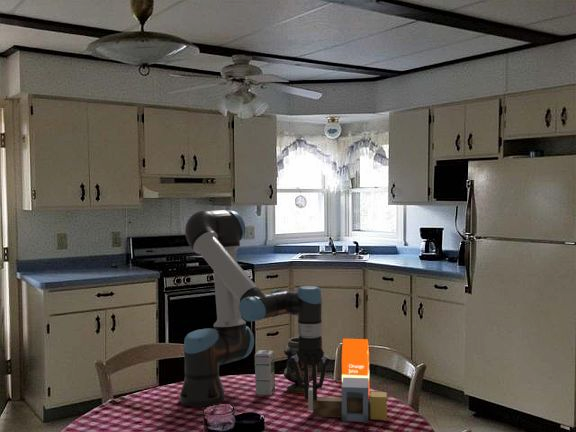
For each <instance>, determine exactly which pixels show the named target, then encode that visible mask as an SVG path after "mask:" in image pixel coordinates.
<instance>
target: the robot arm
mask: <svg viewBox="0 0 576 432" xmlns="http://www.w3.org/2000/svg"><path fill="white" fill-rule="evenodd" d="M184 235H185V238H186V241H187V243H188V246H189V247H190V248H191V249H192V250H193V252H194V253H195V254H198V255H201V256H202V258H203V259H204V260H205V262H206V263H207V264H208V265H209V266H210V267H211V269H212V270H213V278H214V280H213V281H214V292H215V293H214V294H215V305H216V307H215V308H216V321H215V322H214V323H213V328H211V327H210V328H208V327H207V328H202V329H196V330H193V331H191V332H189V333H187V334H186V336H185V337H184V341H183V342H184V343H183V351H184V353H183V355H184V379H183V384H182V387H181V391H180V393H179V402H180V403H181V405H184V406H187V407H193V408H201V407H202V408H205V407H210V405H212V406H214V405H213V404H216V405H218V404H221V403H222V402H224V401H225V395H226V393H225V390H224V387H223V384H222V381H221V378H220V366H222V365H225V364H226V365H227V364H229V363H232V362H238V361H241V360H242V359H245V358H247V357H248V356H249V355H250V354H251V353H252V352H253V350H254V346H255V337H254V333H253V331H251V328H250V327H249V326H247V322H257V321H261V320H264V319H268V318H275V317H278V316H279V317H280V316H282V315H293V316H297V322H298V323H297V324H298V325H297V329H298V330H297V334H298V336H297V337H298V352H297V354H296V355H295V356H292V357H291V359H290V361H291V362H292V364H293V365H294V369H295V373H296V377H297V381H298V384H299V387H300V388H304V389H305V393H304V399H305V400H307V404H308V405H307V407H308V411H310V412H311V411H312V412H313V399H314V400H316V399H317V397H318V389H322V388H323V385H324V381H325V377H326V371H327V367H328V365H329V364H330V362H331V356H327V355H326V354H325V351H324V350H323V337H322V336H321V335H322V333H323V321H322V309H323V307H322V304H323V303H322V302H323V300H322V290H321V288H320V287H319V286H315V285H312V286H311V285H304V286H302V285H301V286H299V287H298V288H297V291H295V290H286V289H273V290H271V292H269V293H264V292H262V290H261V289H260V288H259V287H258V286H257V285H256V283H255V282H254V281H253V280H252V278H251V277H250V276H249V275H248V274H247V273H246V271H245V270H244V269H243V268H242V267H241V266H240V264H239V263H238V259H237V258H238V257H237V252H238V249H239V248H240V247H241V240H243V238H244V236H245V235H246V224H245V221H244V219H243V217H242V215H240V214H239V212H237V211H236V210H232V209H231V210H230V209H229V210H228V209H221V210H220V209H218V210H201V211H197V212H195V213H193V214H192V215H191V216H190V217H189V218H188V219H187V221H186V224H185V229H184ZM298 357H299V359H300V360H301V361H302V363H303V364H304V383H303V379H302V375H301V371H300V368H299V364H298V360H299V359H298ZM321 360H322V364H323V365H322V367H321V369H322V370H321V371H320V377H319V382H318V364H319V363H320V362H321ZM309 365H312V379H313V381H312V386H313V388H309V384H310V382H309Z"/></svg>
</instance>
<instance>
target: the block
mask: <svg viewBox="0 0 576 432" xmlns="http://www.w3.org/2000/svg"><path fill="white" fill-rule="evenodd" d="M387 393H388V392H387V391H386V392H385V391H370V392H369V399H370V411H371V418H370V420H381V421H383V420H385V421H386V420H388V406H387V404H388V402H387V401H388V400H387V399H388V397H387Z"/></svg>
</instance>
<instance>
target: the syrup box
mask: <svg viewBox="0 0 576 432" xmlns="http://www.w3.org/2000/svg"><path fill="white" fill-rule="evenodd" d="M254 372H255V373H254V375H255V379H254V380H255V381H254V382H255V394H256V395H259V396H272V395H273V393H275V391H276V383H275V380H276V379H275V352H274V350H270V349H260V350H258V351H257V352H256V353H255V354H254Z"/></svg>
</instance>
